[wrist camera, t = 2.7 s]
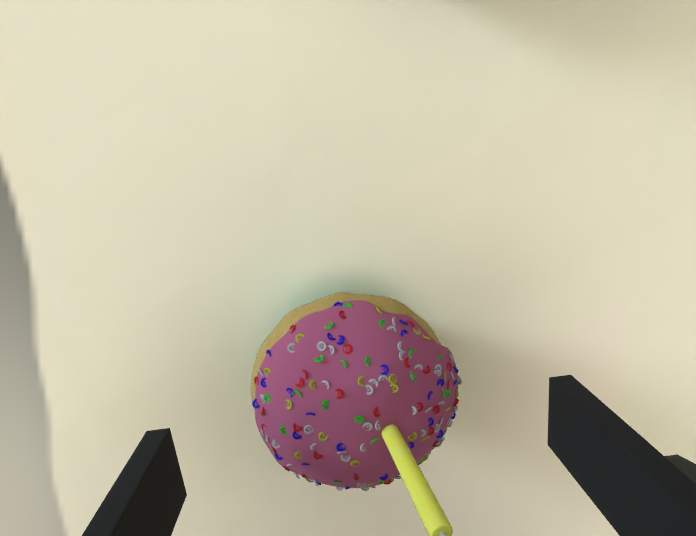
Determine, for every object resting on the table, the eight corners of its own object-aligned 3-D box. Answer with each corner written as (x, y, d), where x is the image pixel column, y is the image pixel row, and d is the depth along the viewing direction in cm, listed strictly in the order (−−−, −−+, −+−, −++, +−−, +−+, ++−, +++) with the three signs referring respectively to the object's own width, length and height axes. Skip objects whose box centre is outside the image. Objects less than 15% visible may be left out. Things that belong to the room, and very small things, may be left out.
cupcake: (441, 279, 21) (590, 422, 10) (411, 425, 23) (505, 685, 12) (272, 258, 20) (214, 388, 9) (256, 412, 22) (192, 681, 11)
